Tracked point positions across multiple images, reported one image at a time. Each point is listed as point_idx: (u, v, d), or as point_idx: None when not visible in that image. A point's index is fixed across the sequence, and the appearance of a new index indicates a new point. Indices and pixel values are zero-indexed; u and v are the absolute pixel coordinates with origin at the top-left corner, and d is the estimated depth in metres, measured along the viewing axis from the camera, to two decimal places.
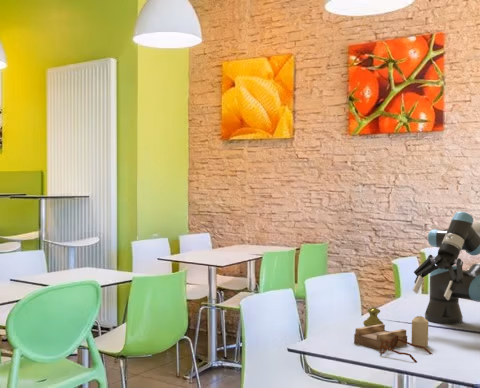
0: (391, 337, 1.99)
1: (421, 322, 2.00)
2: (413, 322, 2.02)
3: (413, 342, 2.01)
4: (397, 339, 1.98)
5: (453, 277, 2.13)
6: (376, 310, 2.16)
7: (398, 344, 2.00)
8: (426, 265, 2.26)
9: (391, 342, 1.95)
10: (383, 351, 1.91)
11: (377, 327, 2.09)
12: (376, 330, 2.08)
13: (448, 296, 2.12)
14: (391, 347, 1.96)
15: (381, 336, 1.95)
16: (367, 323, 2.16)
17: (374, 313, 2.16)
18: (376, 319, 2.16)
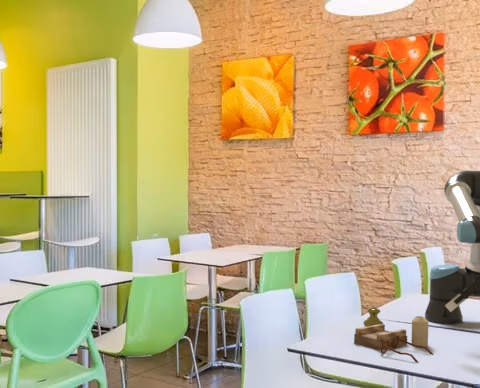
0: (391, 337, 1.99)
1: (421, 322, 2.00)
2: (413, 322, 2.02)
3: (413, 342, 2.01)
4: (398, 339, 1.98)
5: None
6: (376, 310, 2.16)
7: (398, 344, 2.00)
8: None
9: (392, 342, 1.95)
10: (384, 351, 1.91)
11: (377, 327, 2.09)
12: (376, 330, 2.08)
13: None
14: (392, 347, 1.96)
15: (381, 336, 1.95)
16: (367, 323, 2.16)
17: (374, 313, 2.16)
18: (376, 319, 2.16)
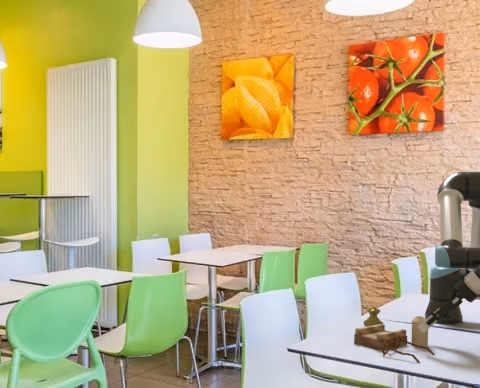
0: (391, 337, 1.99)
1: (421, 322, 2.00)
2: (413, 322, 2.02)
3: (413, 342, 2.01)
4: (400, 339, 1.98)
5: None
6: (376, 310, 2.16)
7: None
8: None
9: (394, 342, 1.95)
10: (386, 351, 1.91)
11: (377, 327, 2.09)
12: (376, 330, 2.08)
13: None
14: (394, 347, 1.95)
15: (381, 336, 1.95)
16: (367, 323, 2.16)
17: (374, 313, 2.16)
18: (376, 319, 2.16)
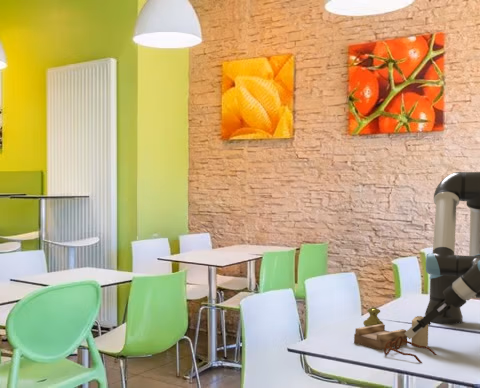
0: (391, 337, 1.99)
1: None
2: (413, 322, 2.02)
3: (413, 342, 2.01)
4: (401, 340, 1.97)
5: None
6: (376, 310, 2.16)
7: (398, 344, 2.00)
8: None
9: (395, 343, 1.95)
10: (387, 352, 1.90)
11: (377, 327, 2.09)
12: (376, 330, 2.08)
13: None
14: (395, 348, 1.95)
15: (381, 336, 1.95)
16: (367, 323, 2.16)
17: (374, 313, 2.16)
18: (376, 319, 2.16)
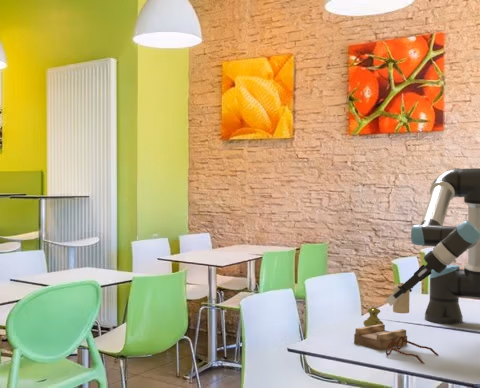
0: (391, 337, 1.99)
1: None
2: (394, 289, 2.01)
3: (394, 309, 2.01)
4: (403, 340, 1.97)
5: (412, 287, 2.04)
6: (376, 310, 2.16)
7: None
8: None
9: (397, 343, 1.94)
10: (389, 352, 1.90)
11: (377, 327, 2.09)
12: (376, 330, 2.08)
13: None
14: (397, 348, 1.95)
15: (381, 336, 1.95)
16: (367, 323, 2.16)
17: (374, 313, 2.16)
18: (376, 319, 2.16)
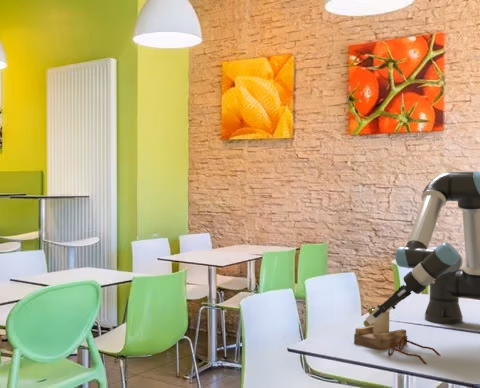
0: (391, 337, 1.99)
1: None
2: None
3: (374, 332, 2.02)
4: (405, 340, 1.97)
5: (395, 305, 2.07)
6: None
7: (398, 344, 2.00)
8: None
9: (399, 343, 1.94)
10: (391, 352, 1.90)
11: None
12: None
13: None
14: (399, 348, 1.94)
15: (381, 336, 1.95)
16: (367, 323, 2.16)
17: None
18: None
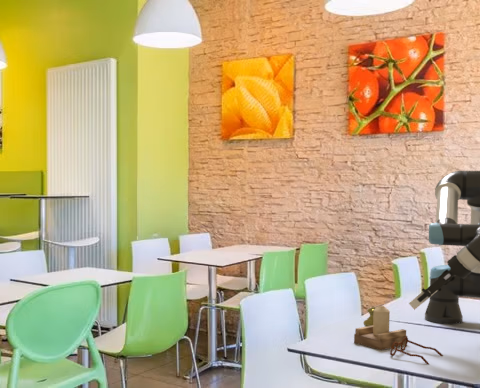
0: (391, 337, 1.99)
1: (382, 312, 2.01)
2: (374, 312, 2.03)
3: (374, 332, 2.02)
4: (407, 341, 1.96)
5: (440, 287, 2.01)
6: None
7: None
8: None
9: (401, 344, 1.93)
10: (393, 353, 1.89)
11: None
12: None
13: None
14: (401, 349, 1.94)
15: (381, 336, 1.95)
16: (367, 323, 2.16)
17: None
18: None
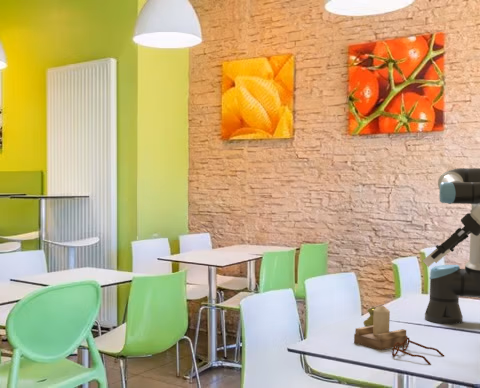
0: (391, 337, 1.99)
1: (382, 312, 2.01)
2: (374, 312, 2.03)
3: (374, 332, 2.02)
4: (408, 341, 1.96)
5: (453, 247, 2.02)
6: None
7: None
8: None
9: (403, 344, 1.93)
10: (395, 353, 1.89)
11: None
12: None
13: None
14: (402, 349, 1.94)
15: (381, 336, 1.95)
16: (367, 323, 2.16)
17: None
18: None
